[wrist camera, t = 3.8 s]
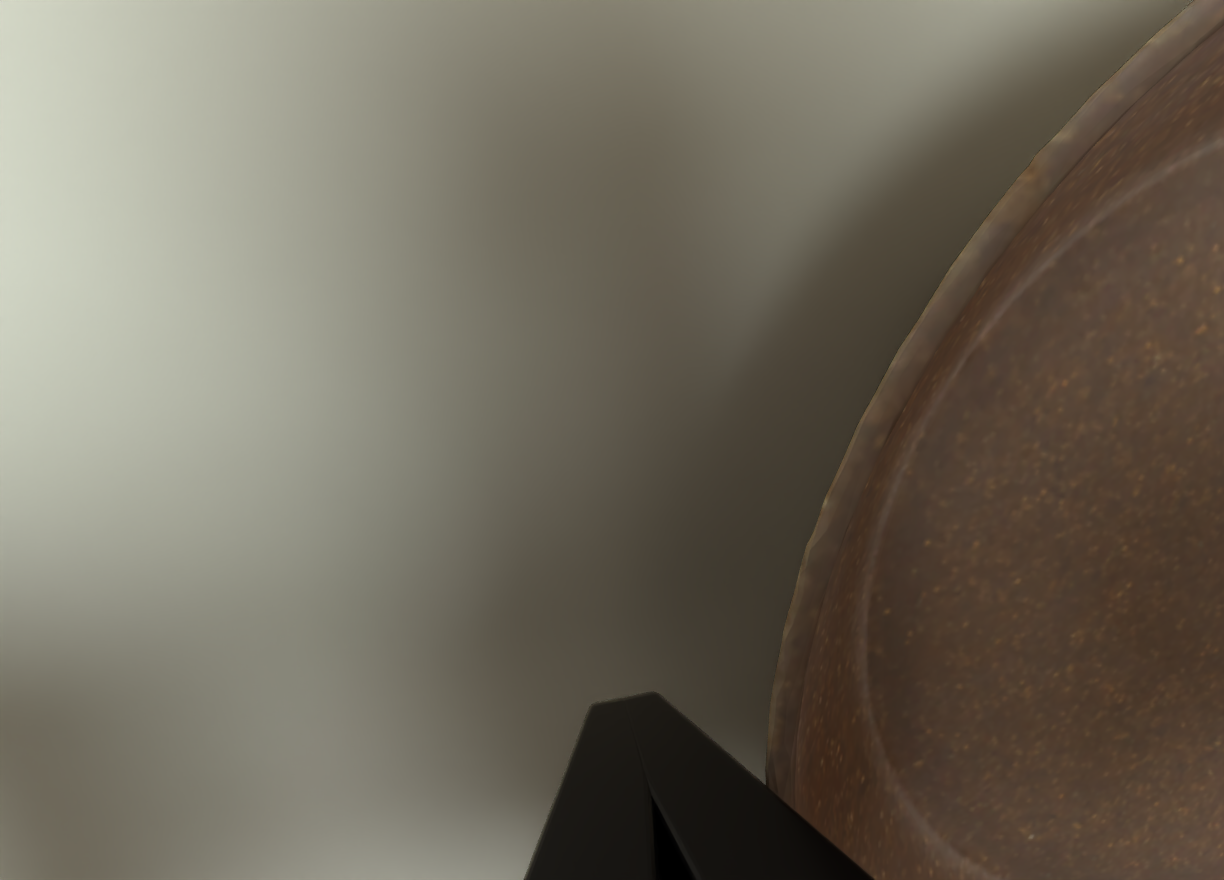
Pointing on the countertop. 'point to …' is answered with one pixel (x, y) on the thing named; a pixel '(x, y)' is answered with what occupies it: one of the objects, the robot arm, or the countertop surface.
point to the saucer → (1038, 527)
